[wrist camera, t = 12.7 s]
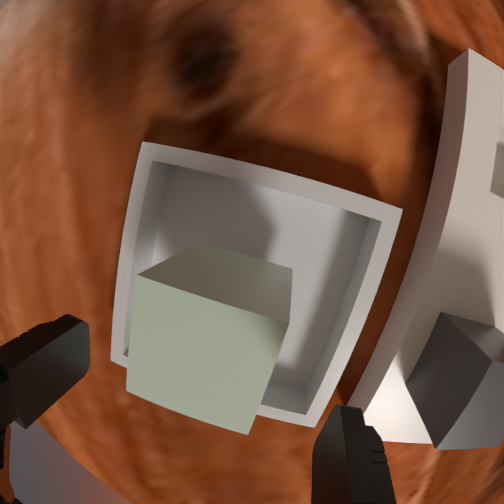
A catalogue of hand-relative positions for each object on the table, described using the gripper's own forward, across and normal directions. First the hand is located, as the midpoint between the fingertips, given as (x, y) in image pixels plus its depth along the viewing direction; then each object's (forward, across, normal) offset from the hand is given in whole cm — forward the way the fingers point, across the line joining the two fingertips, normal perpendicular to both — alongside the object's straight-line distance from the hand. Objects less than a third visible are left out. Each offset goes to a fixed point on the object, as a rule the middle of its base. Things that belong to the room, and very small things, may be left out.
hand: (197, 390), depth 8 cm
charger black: (+12, -14, +1) cm, 18 cm away
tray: (+13, +1, +1) cm, 13 cm away
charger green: (+12, +1, +1) cm, 12 cm away
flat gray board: (+13, -14, -5) cm, 20 cm away
